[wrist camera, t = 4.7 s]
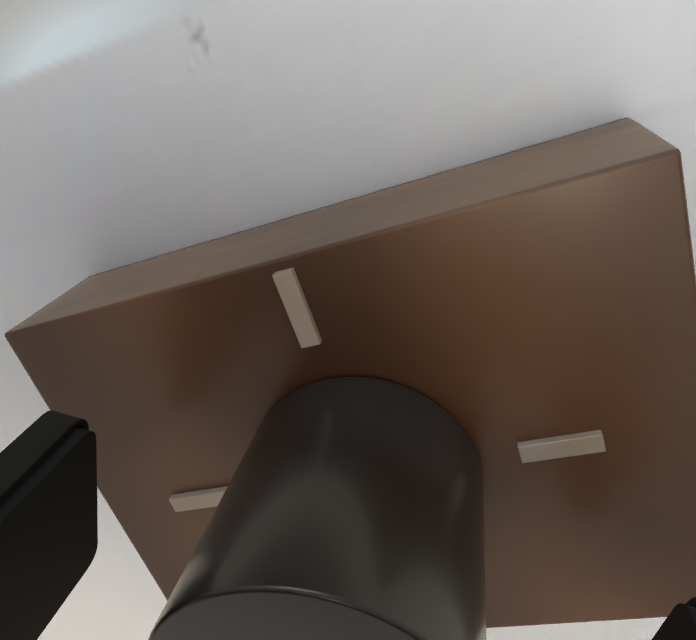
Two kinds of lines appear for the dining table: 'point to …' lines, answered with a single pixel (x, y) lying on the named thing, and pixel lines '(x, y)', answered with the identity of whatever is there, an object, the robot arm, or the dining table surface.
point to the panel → (426, 362)
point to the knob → (342, 526)
